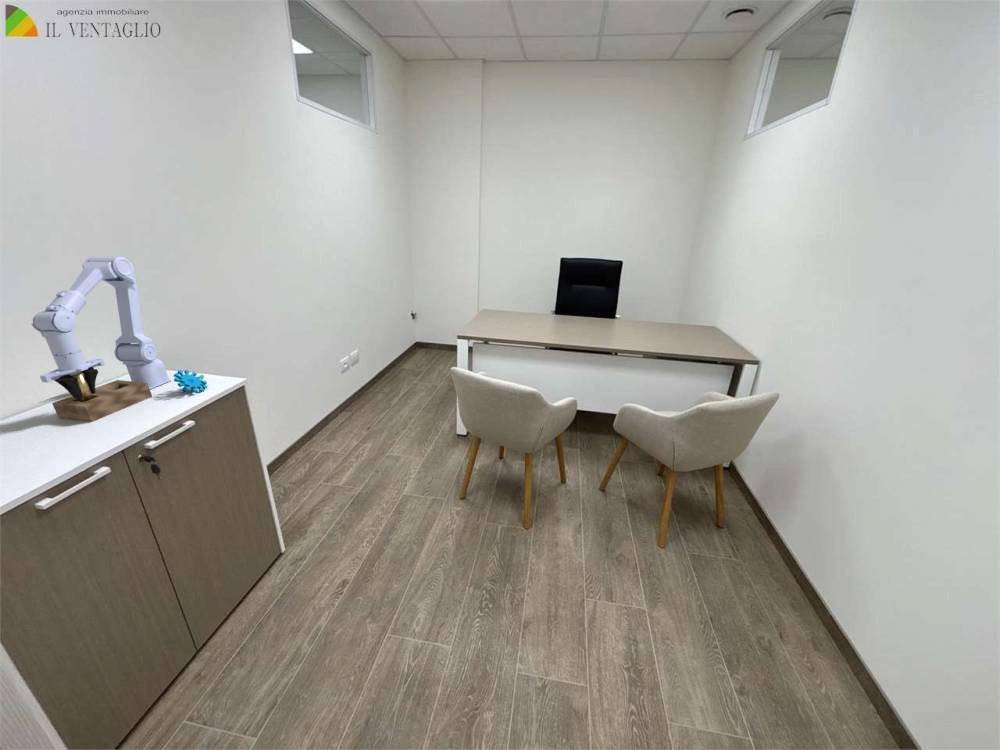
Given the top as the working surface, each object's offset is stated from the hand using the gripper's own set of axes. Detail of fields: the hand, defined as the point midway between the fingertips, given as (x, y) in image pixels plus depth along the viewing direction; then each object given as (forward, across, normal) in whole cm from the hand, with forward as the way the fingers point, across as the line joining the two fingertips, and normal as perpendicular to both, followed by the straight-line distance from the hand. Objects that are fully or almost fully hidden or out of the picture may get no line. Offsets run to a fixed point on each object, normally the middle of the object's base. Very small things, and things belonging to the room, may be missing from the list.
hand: (84, 395), depth 118 cm
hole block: (+6, +4, 0) cm, 7 cm away
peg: (+3, 0, 0) cm, 3 cm away
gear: (+6, +20, -15) cm, 26 cm away
